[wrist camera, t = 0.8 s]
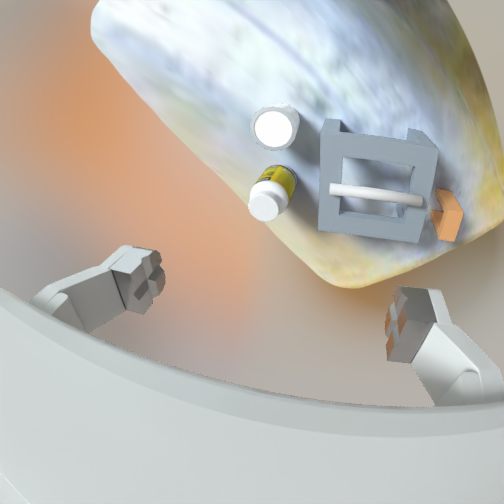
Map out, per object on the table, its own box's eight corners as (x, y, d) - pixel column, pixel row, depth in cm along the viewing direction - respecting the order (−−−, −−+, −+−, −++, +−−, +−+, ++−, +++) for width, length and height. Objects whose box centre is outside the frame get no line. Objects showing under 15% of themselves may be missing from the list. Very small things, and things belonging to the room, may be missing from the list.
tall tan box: (436, 188, 41) (448, 209, 35) (451, 191, 40) (463, 212, 34) (430, 215, 44) (439, 239, 38) (443, 218, 43) (454, 241, 38)
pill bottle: (278, 155, 47) (260, 181, 39) (304, 180, 49) (292, 210, 40) (256, 177, 51) (235, 206, 43) (281, 200, 53) (265, 233, 44)
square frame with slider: (325, 118, 40) (319, 136, 32) (421, 130, 36) (442, 153, 27) (323, 200, 50) (316, 236, 41) (408, 210, 45) (419, 249, 37)
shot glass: (310, 110, 40) (304, 118, 35) (293, 145, 45) (285, 158, 40) (271, 93, 41) (258, 99, 35) (256, 128, 45) (243, 139, 40)
